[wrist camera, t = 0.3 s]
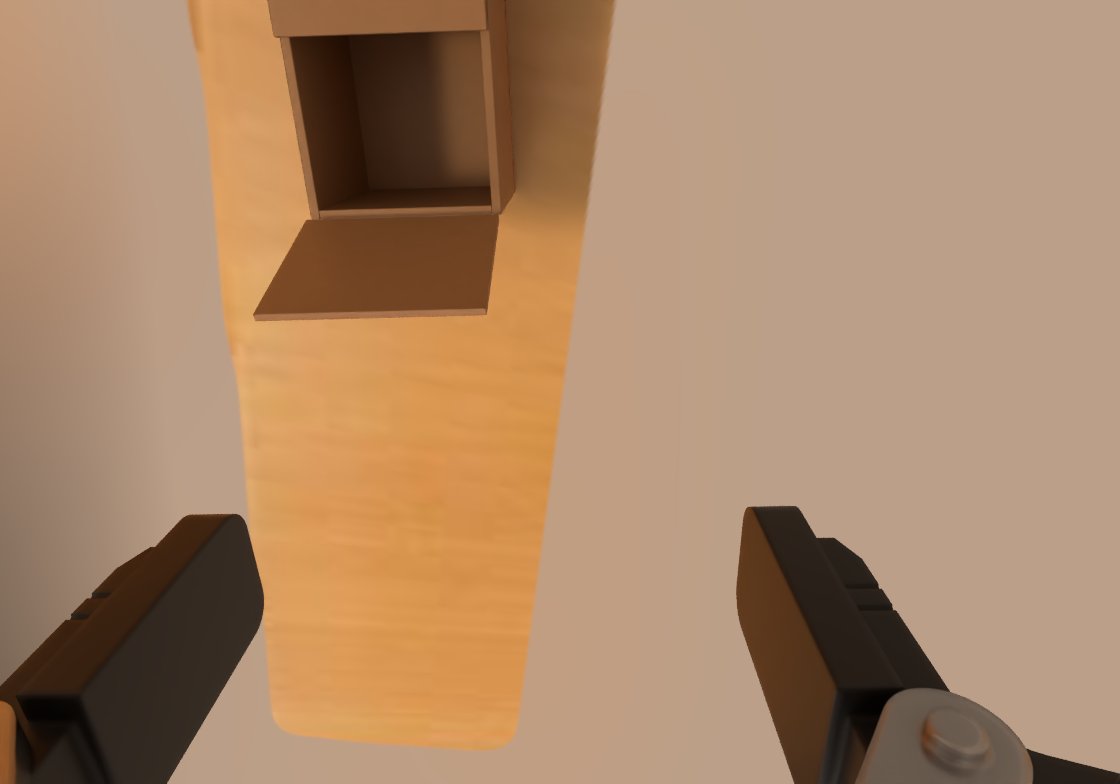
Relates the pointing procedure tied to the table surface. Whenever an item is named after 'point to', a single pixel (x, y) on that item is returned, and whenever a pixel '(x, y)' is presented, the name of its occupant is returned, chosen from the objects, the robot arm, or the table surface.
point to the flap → (385, 269)
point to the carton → (399, 105)
